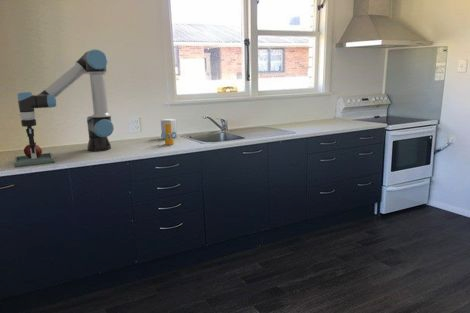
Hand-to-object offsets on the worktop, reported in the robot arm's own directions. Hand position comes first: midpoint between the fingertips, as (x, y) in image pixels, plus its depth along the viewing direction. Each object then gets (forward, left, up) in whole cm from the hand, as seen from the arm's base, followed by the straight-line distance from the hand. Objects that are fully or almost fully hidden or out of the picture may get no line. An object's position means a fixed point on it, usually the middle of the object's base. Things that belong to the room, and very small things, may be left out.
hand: (33, 156), depth 219 cm
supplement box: (-95, -28, -3) cm, 99 cm away
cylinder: (-86, -4, -3) cm, 86 cm away
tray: (0, 0, -3) cm, 3 cm away
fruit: (0, 0, -1) cm, 1 cm away
